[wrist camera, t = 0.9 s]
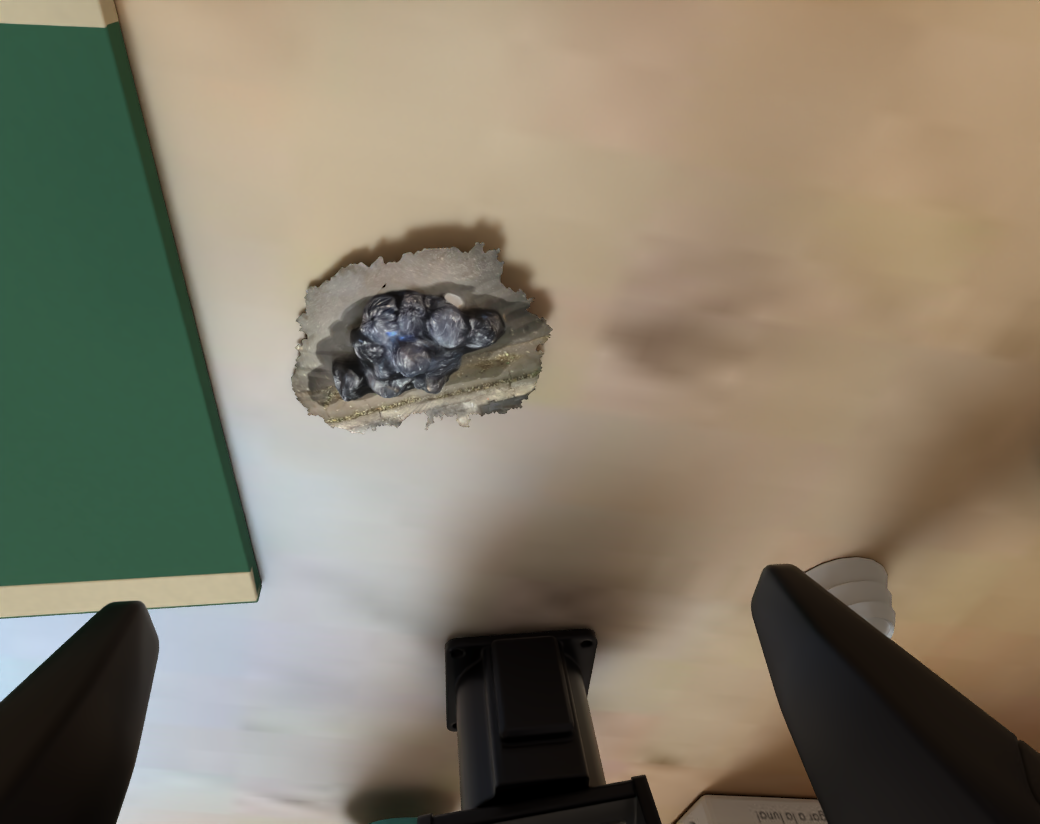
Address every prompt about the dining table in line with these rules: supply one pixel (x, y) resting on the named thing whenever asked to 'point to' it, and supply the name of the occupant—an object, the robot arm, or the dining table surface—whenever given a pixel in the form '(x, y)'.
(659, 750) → the dining table surface
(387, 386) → the blueberries
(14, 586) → the green flat rectangular block
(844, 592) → the chalice
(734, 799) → the cereal box
